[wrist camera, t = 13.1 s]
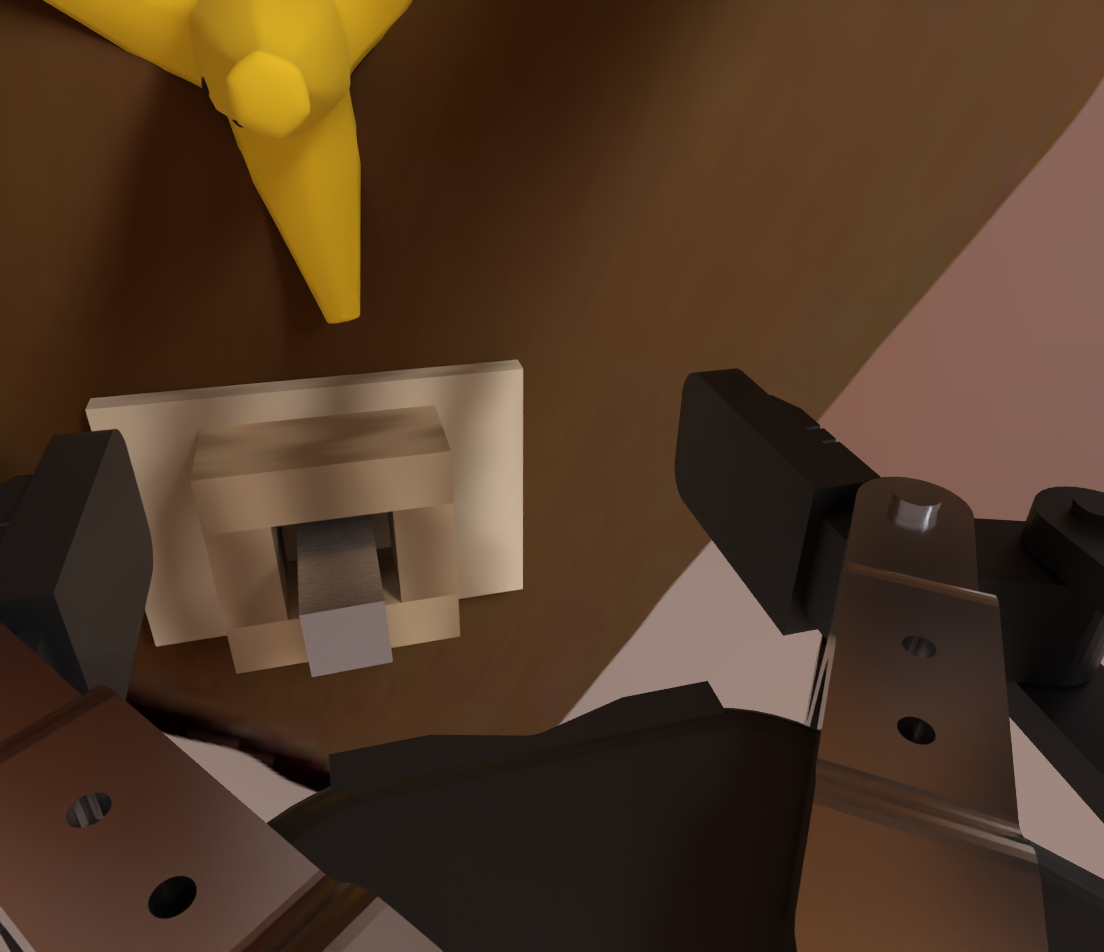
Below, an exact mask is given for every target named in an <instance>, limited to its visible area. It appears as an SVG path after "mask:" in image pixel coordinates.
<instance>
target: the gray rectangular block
mask: <svg viewBox="0 0 1104 952" xmlns="http://www.w3.org/2000/svg"><path fill="white" fill-rule="evenodd" d="M297 554H298V593H299V618H300V622H301V627H302V632H303V637H304V641H305V646H306V651H307V656H308V660H309V665H310V670H311V675H312V677H316V676H321V675H326V674H331V673H337V672H342V671H347V670H353V669H358V668H363V667H368V666H374V665H379V664H384V663H390V662H393V659H392V652H391V645H390V637H389V630H388V623H387V616H386V609H385V601H384V595H383V589H382V583H381V576H380V570H379V564H378V558H377V551H376V545H375V539H374V533H373V527H372V520H371V514H367V515H360V516H352V517H344V518H336V519H329V520H321V521H313V522H306V523H298V524H297Z"/></svg>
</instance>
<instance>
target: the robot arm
mask: <svg viewBox="0 0 1104 952" xmlns="http://www.w3.org/2000/svg"><path fill="white" fill-rule="evenodd" d="M675 478H676V483H677V488H678V491H679V494H680V496H681V498H682V500H683V502H684V503H685V504H686V506H687V507H688V508H689V510H690V511H691V512H692V514H693V515H694V516H695V518H696V519H697V520H698V522H699V523H700V525H701V526H702V527H703V529H704V530H705V531H706V533H707V534H708V535H709V537H710V538H711V539H712V541H713V542H714V543H715V544H716V546H717V547H718V548H719V550H720V551H721V552H722V554H723V555H724V557H725V558H726V559H727V561H728V562H729V563H730V564H731V566H732V567H733V569H734V570H735V571H736V573H737V574H738V575H739V577H740V578H741V579H742V581H743V582H744V583H745V585H746V586H747V587H748V589H749V590H750V591H751V593H752V594H753V595H754V597H755V598H756V599H757V601H758V602H759V603H760V605H761V606H762V607H763V609H764V610H765V611H766V613H767V614H768V615H769V617H770V618H771V619H772V621H773V622H774V623H775V625H776V626H777V628H778V629H779V630H780V632H781V633H782V634H783V635H789V634H794V633H799V632H805V631H810V630H816V629H818V630H819V631H820V632H821V634H822V637H821V641H820V645H819V650H818V653H817V659H816V663H815V669H814V674H813V680H812V685H811V690H810V696H809V701H808V706H807V712H806V718H805V722H804V724H801V723H799V722H797V721H793V720H790V719H787V718H783V717H780V716H777V715H773V714H768V713H763V712H759V711H753V710H745V709H735V708H723V706H722V705H721V703H720V701H719V699H718V698H717V696H716V694H715V693H714V691H713V689H712V688H711V686H710V684H709V683H708V681H706V682H700V683H695V684H690V685H684V686H679V687H674V688H669V689H664V690H659V691H653V692H648V693H643V694H638V695H633V696H628V697H623V698H620V699H618V700H615V701H613V702H611V703H609V704H606V705H604V706H602V707H600V708H597V709H595V710H593V711H590V712H588V713H586V714H584V715H581V716H579V717H577V718H575V719H572V720H570V721H568V722H566V723H563V724H561V725H559V726H556V727H554V728H552V729H550V730H547V731H545V732H542V733H539V734H535V735H528V736H499V735H427V736H422V737H417V738H412V739H407V740H401V741H396V742H391V743H386V744H381V745H376V746H371V747H365V748H360V749H355V750H350V751H345V752H340V753H335V754H329V760H330V777H331V787H328V788H326V789H324V790H322V791H320V792H317V793H315V794H313V795H311V796H309V797H307V798H306V799H304V800H302V801H300V802H298V803H297V804H295V805H293V806H291V807H289V808H288V809H286V810H285V811H284V812H282V813H281V814H279V815H278V816H276V817H275V818H273V819H272V820H270V821H269V822H268V823H265V822H264V821H263V820H262V819H261V818H260V817H258V816H257V815H256V814H255V813H254V812H253V811H252V810H250V809H249V808H248V807H247V806H246V805H245V804H243V803H242V802H241V801H240V800H239V799H238V798H237V797H235V796H234V795H233V794H232V793H231V792H230V791H229V790H227V789H226V788H225V787H224V786H223V785H222V784H220V783H219V782H218V781H217V780H216V779H215V778H213V776H211V775H210V774H209V773H208V772H207V771H205V770H204V769H203V768H202V767H201V766H200V765H199V764H198V763H196V762H195V761H194V760H193V759H192V758H191V757H189V756H188V755H187V754H186V753H185V752H184V751H182V750H181V749H180V748H179V747H178V746H177V745H176V744H175V743H173V742H172V741H171V740H170V739H169V738H168V737H166V736H165V735H164V734H163V733H162V732H161V731H160V730H158V729H157V728H156V727H155V726H154V725H153V724H152V723H150V722H149V721H148V720H147V719H146V718H145V717H143V716H142V715H141V714H140V713H139V712H138V711H137V710H135V709H134V708H133V707H132V706H131V705H130V704H129V703H127V702H126V701H125V700H126V695H127V690H128V686H129V681H130V676H131V672H132V667H133V662H134V658H135V653H136V648H137V644H138V639H139V634H140V629H141V625H142V620H143V615H144V611H145V606H146V601H147V597H148V592H149V587H150V583H151V578H152V573H153V546H152V539H151V533H150V529H149V525H148V521H147V517H146V514H145V510H144V507H143V503H142V499H141V496H140V492H139V489H138V485H137V481H136V478H135V474H134V471H133V467H132V463H131V460H130V456H129V453H128V449H127V446H126V443H125V440H124V438H123V436H122V434H121V432H120V431H119V430H118V429H109V430H99V431H89V432H79V433H69V434H59V435H54V436H53V437H52V438H51V440H50V442H49V444H48V446H47V448H46V450H45V452H44V454H43V456H42V458H41V460H40V462H39V464H38V466H37V468H36V470H35V473H34V474H33V475H23V476H14V477H12V478H10V479H9V480H8V481H7V482H5V483H4V484H3V485H1V486H0V952H1104V879H1102V878H1100V877H1098V876H1096V875H1095V874H1093V873H1091V872H1089V871H1087V870H1085V869H1083V868H1081V867H1079V866H1077V865H1075V864H1074V863H1072V862H1070V861H1068V860H1066V859H1064V858H1062V857H1060V856H1058V855H1056V854H1054V853H1053V852H1051V851H1049V850H1047V849H1045V848H1043V847H1041V846H1039V845H1037V844H1035V843H1033V842H1031V841H1030V840H1028V839H1026V838H1024V837H1023V835H1022V833H1021V831H1020V827H1019V820H1018V810H1017V799H1016V788H1015V777H1014V766H1013V754H1012V743H1011V734H1010V733H1011V732H1010V721H1009V717H1010V718H1011V719H1012V720H1013V721H1014V722H1015V723H1016V725H1017V726H1018V727H1019V728H1020V729H1021V730H1022V731H1023V733H1024V734H1025V735H1026V736H1027V737H1028V738H1029V739H1030V741H1031V742H1032V743H1033V744H1034V745H1035V746H1036V747H1037V748H1038V750H1039V751H1040V752H1041V753H1042V754H1043V755H1044V756H1045V757H1046V759H1047V760H1048V761H1049V762H1050V763H1051V764H1052V765H1053V767H1054V768H1055V769H1056V770H1057V771H1058V772H1059V773H1060V774H1061V776H1062V777H1063V778H1064V779H1065V780H1066V781H1067V782H1068V783H1069V784H1070V786H1071V787H1072V788H1073V789H1074V790H1075V791H1076V793H1077V794H1078V795H1079V796H1080V797H1081V798H1082V799H1083V800H1084V802H1085V803H1086V804H1087V805H1088V806H1089V807H1090V808H1091V810H1093V812H1094V813H1095V814H1096V815H1097V816H1098V817H1099V819H1100V820H1101V821H1102V822H1103V823H1104V666H1103V665H1102V664H1101V661H1102V659H1103V657H1104V493H1103V492H1099V491H1096V490H1091V489H1085V488H1078V487H1054V488H1048V489H1045V490H1042V491H1041V492H1039V493H1038V494H1037V495H1036V496H1035V498H1034V501H1033V503H1032V506H1031V509H1030V511H1029V515H1028V517H1027V520H1026V521H1011V520H994V519H976V518H974V515H973V512H972V510H971V508H970V507H969V506H968V505H967V503H966V502H965V501H963V500H962V499H961V498H960V497H958V496H957V495H955V494H954V493H952V492H951V491H949V490H947V489H945V488H942V487H940V486H938V485H935V484H932V483H929V482H926V481H922V480H917V479H912V478H905V477H883V478H881V477H880V476H879V475H878V474H877V473H875V472H874V471H873V470H872V469H871V468H870V467H868V466H867V465H866V464H865V463H864V462H863V461H861V460H860V459H859V458H858V457H857V456H856V455H854V454H853V453H852V452H851V451H850V450H848V449H847V448H846V447H845V446H844V445H843V444H841V443H840V442H836V438H835V437H833V436H832V435H831V434H830V433H829V432H828V431H826V430H825V429H824V428H822V429H820V425H819V424H818V423H817V422H816V421H815V420H814V419H812V418H811V417H810V416H809V415H808V414H806V413H805V412H804V411H803V410H802V409H801V408H798V407H796V406H794V405H792V404H790V403H787V402H785V401H783V400H781V399H779V398H777V397H774V396H772V395H768V394H767V393H766V392H765V391H764V390H763V389H762V388H761V387H759V386H758V385H757V384H756V383H755V382H754V381H753V380H751V379H750V378H749V377H748V376H747V375H746V374H745V373H744V372H742V371H741V370H740V369H737V368H736V369H725V370H715V371H705V372H695V373H691V374H689V375H688V376H687V378H686V380H685V383H684V386H683V392H682V401H681V410H680V419H679V428H678V438H677V447H676V456H675Z"/></svg>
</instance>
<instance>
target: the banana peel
mask: <svg viewBox="0 0 1104 952" xmlns="http://www.w3.org/2000/svg"><path fill="white" fill-rule="evenodd" d="M43 1H45V2H47V3H48V4H50V5H52V6H53V7H55V8H57V9H58V10H60V11H62V12H63V13H65V14H67V15H68V16H70V17H72V18H73V19H75V20H77V21H78V22H80V23H82V24H83V25H85V26H86V27H88V28H90V29H91V30H93V31H95V32H96V33H98V34H99V35H101V36H103V37H104V38H106V39H108V40H109V41H111V42H113V43H114V44H116V45H117V46H119V47H121V48H122V49H124V50H125V51H127V52H129V53H132V54H134V55H137V56H139V57H141V58H143V59H146V60H148V61H150V62H152V63H154V64H156V65H158V66H159V67H161V68H162V69H164V70H165V71H167V72H170V73H172V74H174V75H176V76H179V77H181V78H183V79H185V80H187V81H189V82H191V83H193V84H195V85H197V86H199V87H201V88H202V89H203V90H204V91H205V92H206V93H207V94H208V95H209V96H210V99H211V100H212V102H213V104H214V106H215V108H216V110H218V111H219V112H221V113H223V114H224V115H226V116H227V118H228V120H229V123H230V125H231V128H232V131H233V133H234V136H235V139H236V142H237V145H238V148H239V149H240V151H241V153H242V155H243V157H244V159H245V162H246V164H247V167H248V170H249V173H250V175H251V179H252V181H253V183H254V185H255V187H256V189H257V191H258V192H259V194H260V196H261V198H262V200H263V202H264V203H265V205H266V207H267V209H268V211H269V213H270V215H271V216H272V218H273V220H274V222H275V224H276V226H277V228H278V230H279V231H280V233H281V235H282V237H283V239H284V241H285V243H286V245H287V246H288V248H289V250H290V252H291V254H292V256H293V258H294V260H295V262H296V264H297V265H298V267H299V269H300V271H301V273H302V275H303V277H304V279H305V281H306V283H307V285H308V286H309V288H310V290H311V292H312V294H313V296H314V298H315V300H316V302H317V304H318V306H319V308H320V309H321V311H322V313H323V315H324V317H325V319H326V321H327V322H328V323H340V322H345V321H350V320H353V319H356V318H358V317H359V316H360V206H361V162H360V157H359V151H358V145H357V137H356V122H355V117H354V112H353V107H352V102H351V97H350V91H349V88H350V75H351V74H352V72H353V71H354V69H355V68H356V67H357V66H358V64H359V63H360V62H361V61H362V60H363V58H364V57H365V56H366V55H367V54H368V53H369V52H370V51H371V50H372V49H373V48H374V47H375V45H376V44H377V43H378V42H379V41H380V40H381V39H382V38H383V36H384V35H385V33H386V32H387V30H388V29H389V28H390V27H391V26H392V24H393V23H394V22H395V21H396V20H397V19H398V18H399V17H400V16H401V15H402V14H403V13H404V12H405V11H406V10H407V9H408V7H409V6H410V4H411V3H412V1H413V0H43Z"/></svg>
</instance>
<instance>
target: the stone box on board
mask: <svg viewBox="0 0 1104 952" xmlns="http://www.w3.org/2000/svg"><path fill="white" fill-rule="evenodd" d="M85 411H86V414H87V417H88V421H89V424H90V427H91V431H99V430H109V429H118V430H119V431H120V432H121V434H122V436H123V438H124V440H125V443H126V446H127V449H128V453H129V456H130V460H131V463H132V467H133V471H134V474H135V478H136V481H137V485H138V489H139V492H140V496H141V499H142V503H143V507H144V510H145V514H146V517H147V521H148V525H149V529H150V533H151V539H152V546H153V573H152V578H151V583H150V587H149V592H148V597H147V601H146V606H145V611H146V614H147V618H148V621H149V625H150V628H151V631H152V635H153V638H154V641H155V645H156V646H163V645H169V644H176V643H182V642H188V641H195V640H201V639H207V638H214V637H220V636H226V635H227V637H228V641H229V645H230V649H231V653H232V657H233V662H234V666H235V670H236V674H238V673H244V672H250V671H256V670H262V669H268V668H274V667H280V666H286V665H292V664H298V663H304V662H309V660H308V656H307V651H306V646H305V641H304V637H303V632H302V627H301V622H300V618H299V593H298V554H297V524H298V523H306V522H313V521H321V520H329V519H336V518H344V517H352V516H360V515H367V514H371V520H372V527H373V533H374V539H375V545H376V551H377V558H378V564H379V570H380V576H381V583H382V589H383V595H384V601H385V609H386V616H387V623H388V630H389V637H390V645H391V648H393V647H399V646H405V645H411V644H417V643H423V642H429V641H435V640H441V639H447V638H453V637H459V636H460V623H459V603H458V599H462V598H468V597H474V596H481V595H487V594H493V593H500V592H506V591H512V590H519V589H523V368H522V366H521V365H520V363H519V361H518V360H507V361H496V362H485V363H474V364H463V365H452V366H441V367H430V368H419V369H408V370H397V371H386V372H375V373H364V374H353V375H342V376H331V377H320V378H309V379H298V380H287V381H276V382H265V383H254V384H243V385H231V386H220V387H209V388H198V389H187V390H176V391H165V392H154V393H143V394H132V395H121V396H110V397H99V398H90V400H89V402H88V405H87V407H86V409H85Z"/></svg>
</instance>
